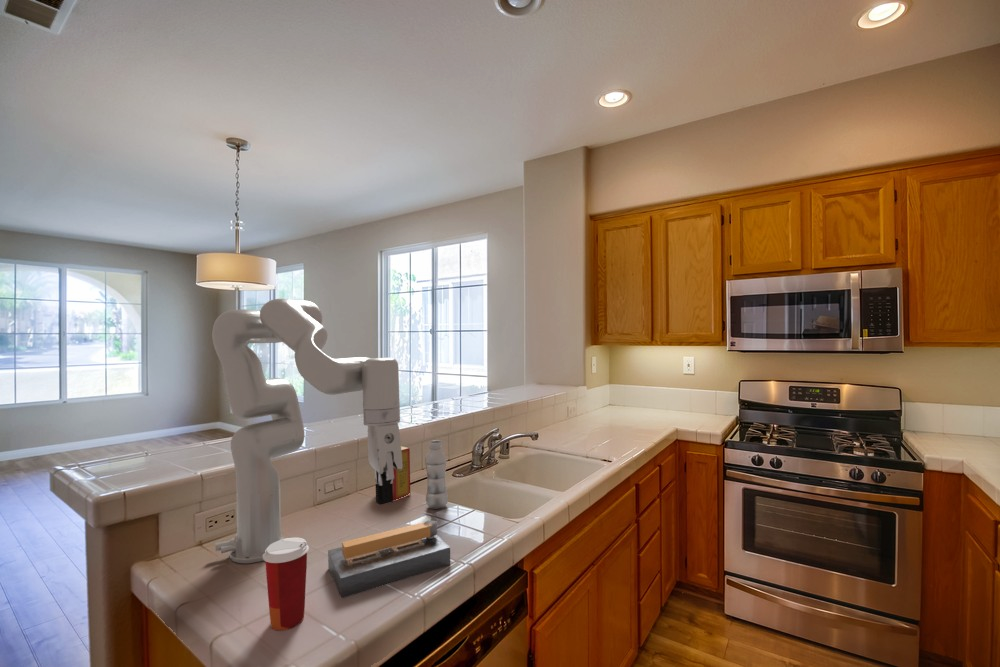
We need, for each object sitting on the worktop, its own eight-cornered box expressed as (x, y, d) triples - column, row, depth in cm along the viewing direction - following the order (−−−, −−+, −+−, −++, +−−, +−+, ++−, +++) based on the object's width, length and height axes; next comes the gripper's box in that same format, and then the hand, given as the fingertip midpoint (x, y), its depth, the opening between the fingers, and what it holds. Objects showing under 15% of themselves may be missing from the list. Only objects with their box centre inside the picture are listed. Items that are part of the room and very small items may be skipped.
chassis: (341, 598, 90) (340, 574, 90) (328, 568, 102) (328, 547, 102) (450, 564, 102) (449, 544, 102) (427, 541, 114) (427, 522, 114)
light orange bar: (433, 529, 109) (433, 519, 109) (439, 534, 106) (438, 524, 106) (342, 553, 98) (341, 541, 98) (345, 559, 95) (345, 547, 95)
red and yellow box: (410, 495, 148) (409, 446, 148) (394, 501, 143) (393, 451, 143) (392, 489, 154) (391, 443, 154) (376, 495, 149) (375, 447, 149)
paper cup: (316, 607, 87) (315, 535, 87) (300, 633, 79) (298, 554, 79) (275, 609, 87) (274, 536, 87) (255, 635, 79) (253, 556, 79)
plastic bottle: (444, 512, 133) (442, 444, 133) (422, 510, 134) (421, 444, 134) (450, 503, 139) (449, 439, 139) (430, 502, 141) (429, 439, 141)
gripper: (410, 418, 90) (413, 509, 90) (388, 409, 103) (391, 489, 103) (373, 423, 87) (376, 518, 86) (355, 413, 99) (358, 496, 99)
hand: (384, 502), depth 95 cm, fingers closed
